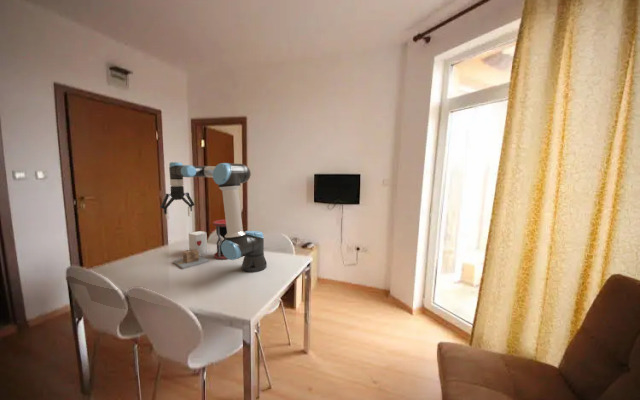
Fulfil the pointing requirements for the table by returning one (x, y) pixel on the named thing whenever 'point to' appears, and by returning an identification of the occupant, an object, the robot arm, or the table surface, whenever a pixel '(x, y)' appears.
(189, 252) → the brown cardboard crate
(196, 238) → the supplement box
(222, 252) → the robot arm
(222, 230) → the hourglass
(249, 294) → the table surface
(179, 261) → the plate
